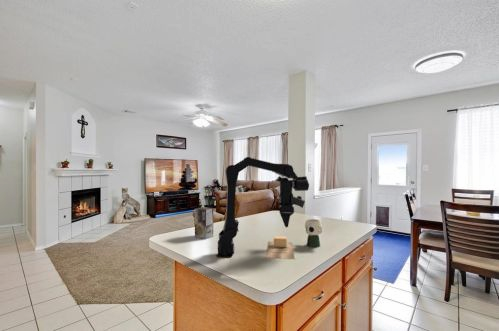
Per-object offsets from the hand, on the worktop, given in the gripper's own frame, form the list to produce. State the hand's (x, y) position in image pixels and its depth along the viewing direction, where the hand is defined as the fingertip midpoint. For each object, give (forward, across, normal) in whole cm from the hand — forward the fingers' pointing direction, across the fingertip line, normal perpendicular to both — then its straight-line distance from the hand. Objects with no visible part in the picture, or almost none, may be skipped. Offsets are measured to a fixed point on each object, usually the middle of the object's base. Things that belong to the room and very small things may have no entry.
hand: (286, 224), depth 105 cm
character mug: (+12, +7, -13) cm, 19 cm away
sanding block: (+11, +4, +3) cm, 12 cm away
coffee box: (+12, +18, +46) cm, 51 cm away
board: (+12, -1, +3) cm, 12 cm away
